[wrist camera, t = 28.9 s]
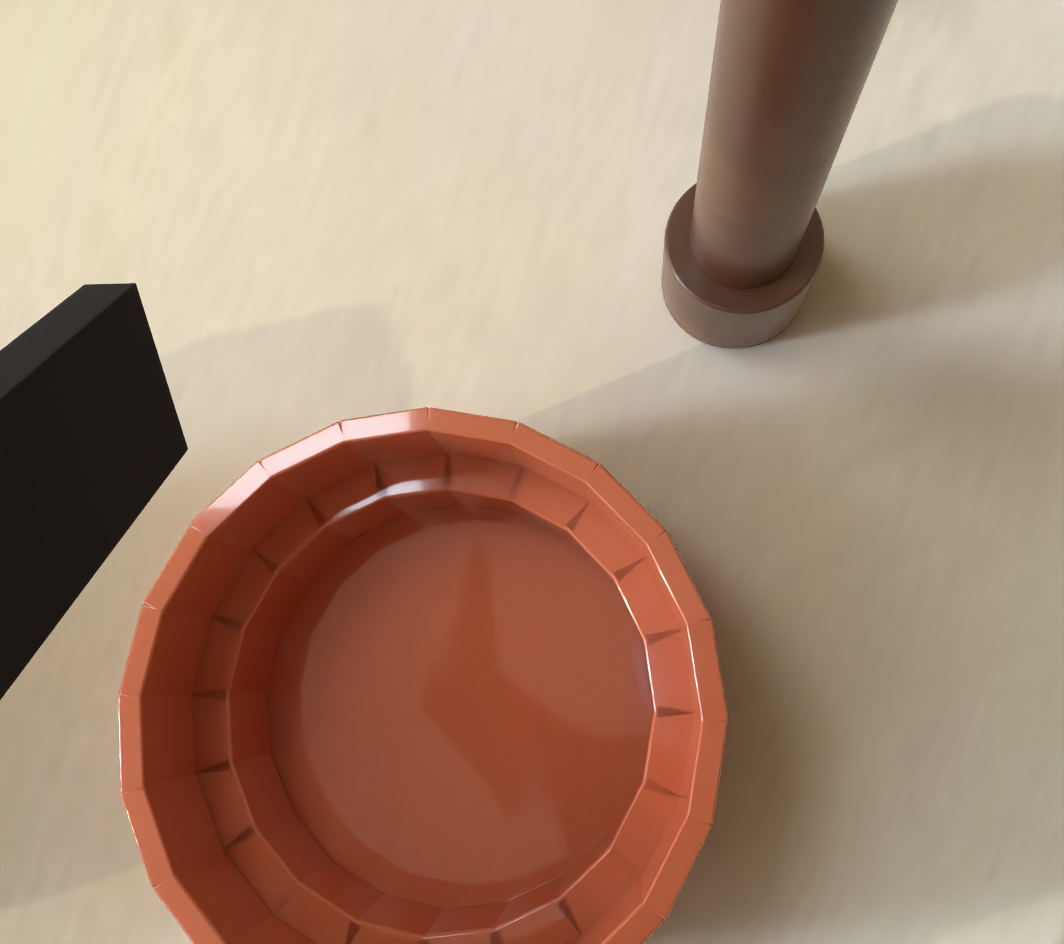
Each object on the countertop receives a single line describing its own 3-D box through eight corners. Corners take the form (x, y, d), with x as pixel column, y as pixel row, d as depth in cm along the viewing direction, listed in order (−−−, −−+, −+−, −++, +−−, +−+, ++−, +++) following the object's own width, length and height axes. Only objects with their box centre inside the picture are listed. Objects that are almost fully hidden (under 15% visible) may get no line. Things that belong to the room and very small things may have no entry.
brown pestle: (814, 225, 29) (1026, -287, 13) (795, 358, 28) (996, -19, 12) (673, 208, 29) (718, -301, 14) (650, 337, 29) (670, -46, 13)
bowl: (738, 503, 27) (767, 460, 22) (660, 1015, 25) (669, 1125, 19) (288, 427, 29) (202, 370, 24) (174, 896, 27) (46, 961, 21)
